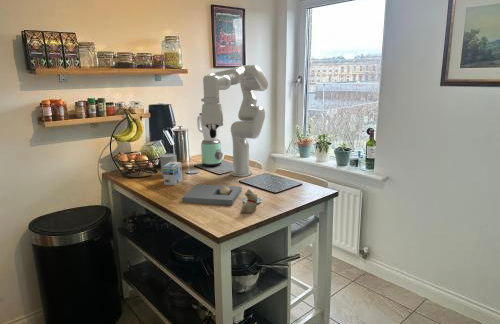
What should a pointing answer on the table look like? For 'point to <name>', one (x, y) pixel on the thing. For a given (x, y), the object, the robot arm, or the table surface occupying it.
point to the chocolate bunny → (249, 202)
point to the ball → (225, 190)
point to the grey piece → (167, 160)
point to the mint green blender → (209, 145)
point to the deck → (211, 195)
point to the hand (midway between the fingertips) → (213, 137)
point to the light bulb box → (172, 173)
